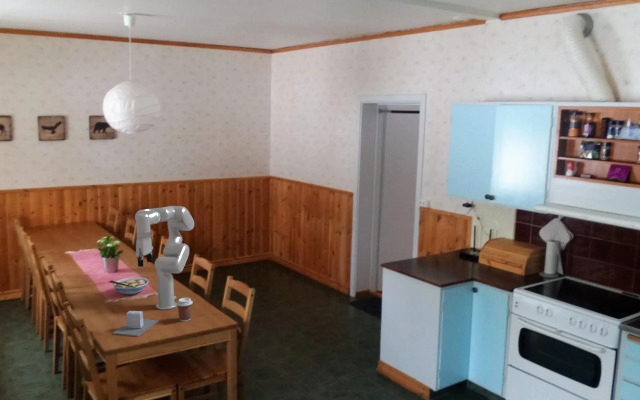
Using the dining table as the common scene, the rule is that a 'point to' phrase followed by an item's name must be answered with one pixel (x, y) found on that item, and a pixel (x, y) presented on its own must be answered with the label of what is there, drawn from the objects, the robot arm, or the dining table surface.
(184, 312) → the coffee cup
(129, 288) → the ramen bowl
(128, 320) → the medicine box
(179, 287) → the dining table surface
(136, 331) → the mat
